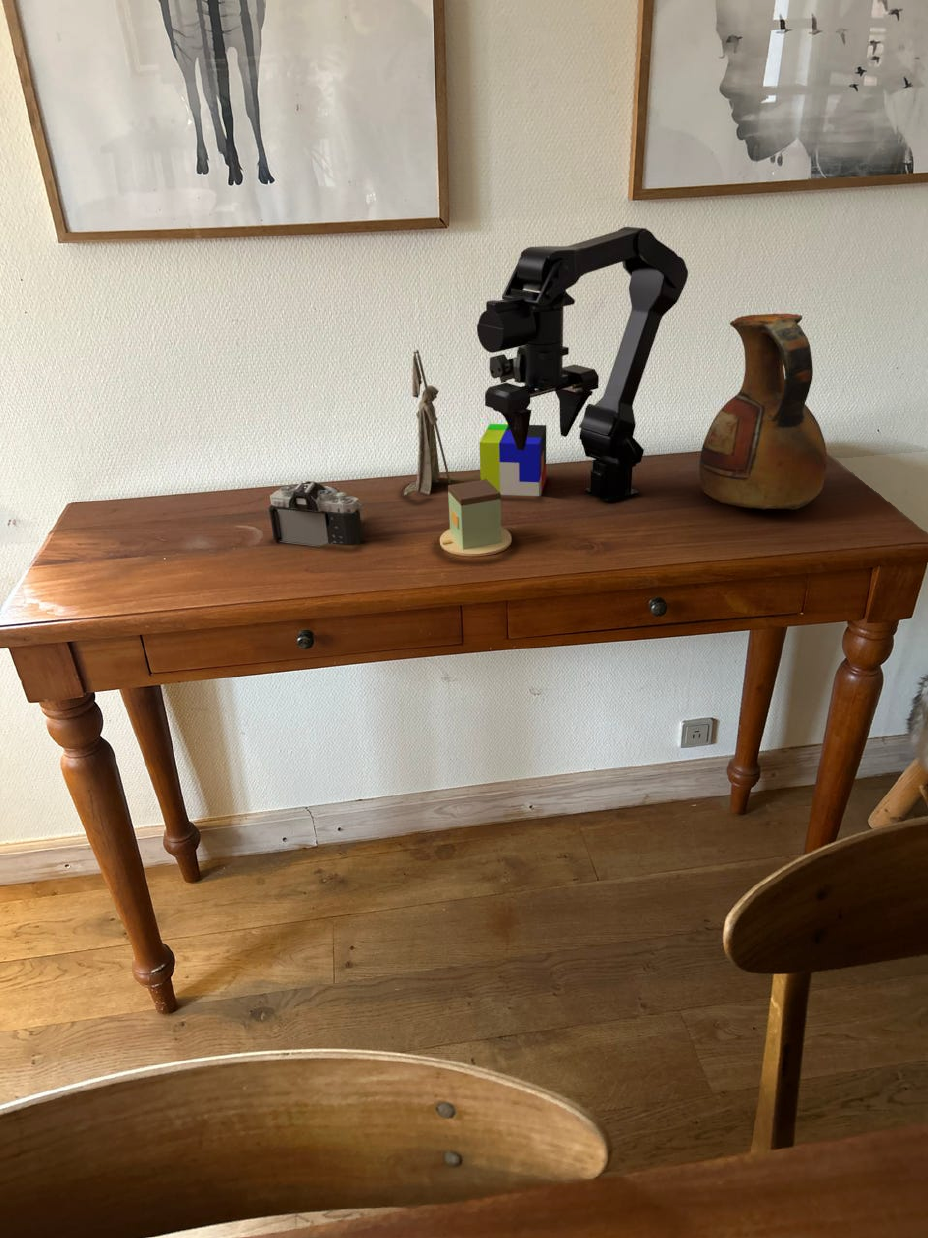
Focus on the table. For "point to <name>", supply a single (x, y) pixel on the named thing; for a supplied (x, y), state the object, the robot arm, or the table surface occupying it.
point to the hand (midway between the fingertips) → (542, 442)
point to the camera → (315, 515)
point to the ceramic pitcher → (767, 423)
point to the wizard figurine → (426, 433)
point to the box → (475, 520)
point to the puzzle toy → (514, 460)
